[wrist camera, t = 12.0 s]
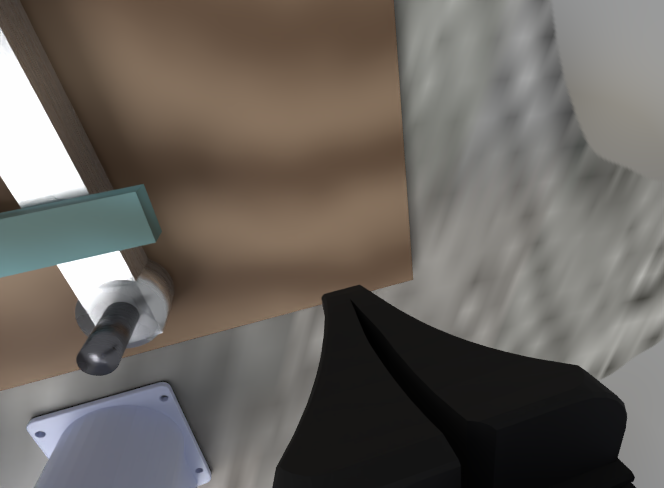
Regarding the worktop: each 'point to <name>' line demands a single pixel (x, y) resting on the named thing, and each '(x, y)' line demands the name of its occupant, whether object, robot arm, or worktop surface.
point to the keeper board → (214, 165)
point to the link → (66, 183)
